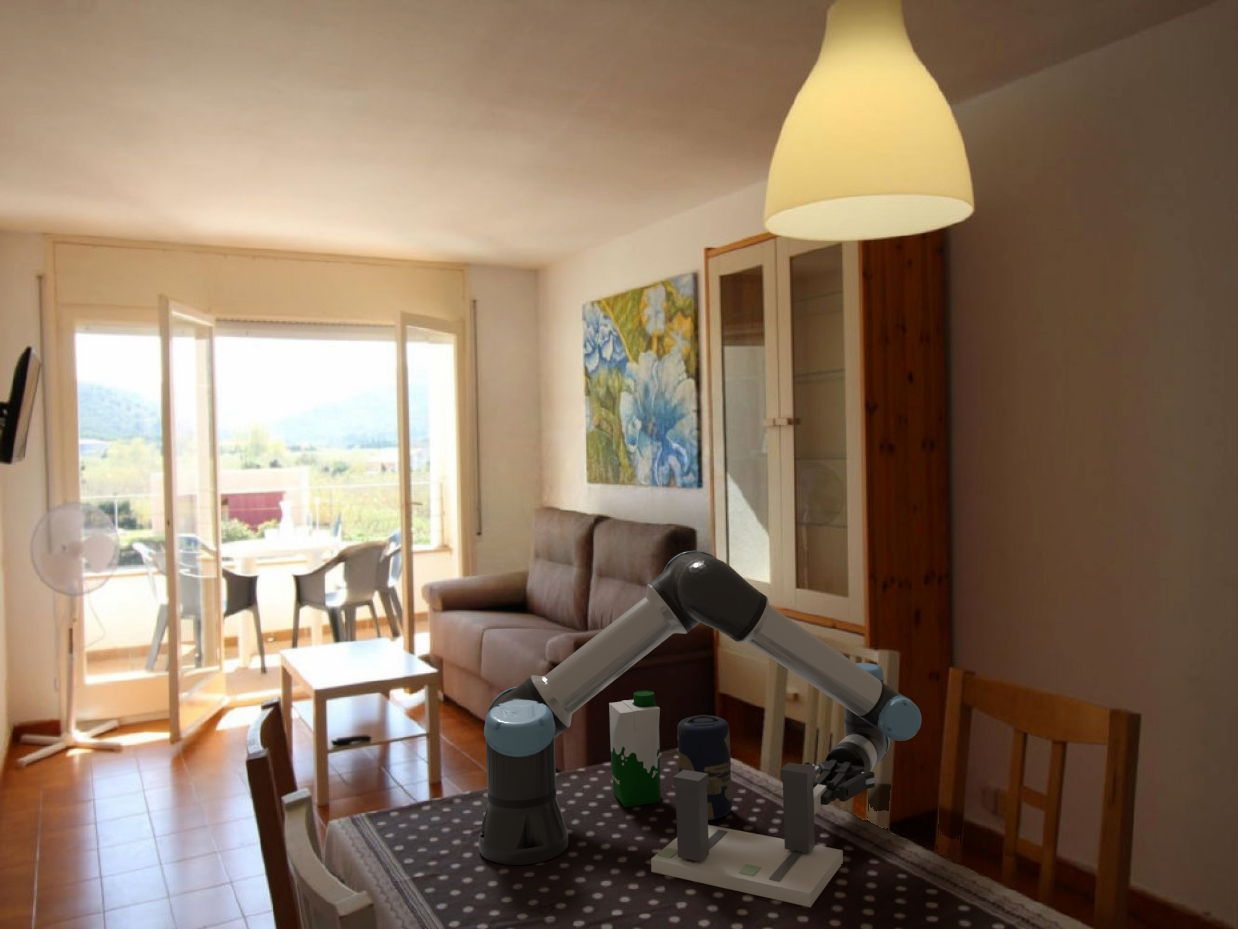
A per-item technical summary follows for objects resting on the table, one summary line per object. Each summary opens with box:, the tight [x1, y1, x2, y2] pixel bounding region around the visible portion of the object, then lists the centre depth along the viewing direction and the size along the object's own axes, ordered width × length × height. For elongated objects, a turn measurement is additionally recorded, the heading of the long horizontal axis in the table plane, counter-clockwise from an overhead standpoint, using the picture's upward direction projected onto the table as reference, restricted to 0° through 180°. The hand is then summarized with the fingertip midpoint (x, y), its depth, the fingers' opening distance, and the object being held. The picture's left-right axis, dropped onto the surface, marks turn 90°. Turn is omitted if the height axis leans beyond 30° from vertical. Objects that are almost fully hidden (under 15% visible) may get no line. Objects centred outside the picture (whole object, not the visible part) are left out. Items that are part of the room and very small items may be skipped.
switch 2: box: [779, 762, 816, 853], centre depth 151 cm, size 4×4×13 cm
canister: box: [676, 714, 733, 821], centre depth 172 cm, size 10×10×18 cm
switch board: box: [650, 824, 844, 908], centre depth 150 cm, size 26×16×2 cm, turn 60°
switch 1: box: [672, 770, 709, 862], centre depth 149 cm, size 4×4×13 cm
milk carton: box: [608, 690, 662, 808], centre depth 180 cm, size 9×9×20 cm
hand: (809, 806), depth 154 cm, fingers closed
